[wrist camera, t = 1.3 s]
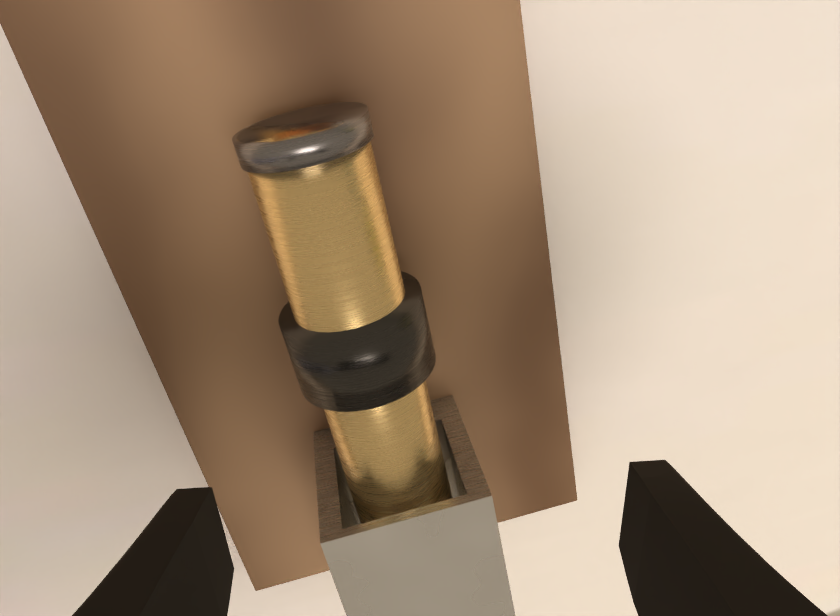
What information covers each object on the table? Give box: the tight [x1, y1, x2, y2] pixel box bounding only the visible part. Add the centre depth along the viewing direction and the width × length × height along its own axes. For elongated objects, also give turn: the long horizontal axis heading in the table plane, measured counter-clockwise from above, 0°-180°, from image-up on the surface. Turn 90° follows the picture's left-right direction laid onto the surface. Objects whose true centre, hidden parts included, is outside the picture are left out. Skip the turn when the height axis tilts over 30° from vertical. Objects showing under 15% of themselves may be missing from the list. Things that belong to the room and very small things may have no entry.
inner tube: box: [232, 102, 453, 524], centre depth 19 cm, size 4×16×4 cm, turn 11°
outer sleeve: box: [313, 395, 515, 616], centre depth 21 cm, size 5×6×5 cm
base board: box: [0, 0, 577, 591], centre depth 19 cm, size 12×27×1 cm, turn 11°
